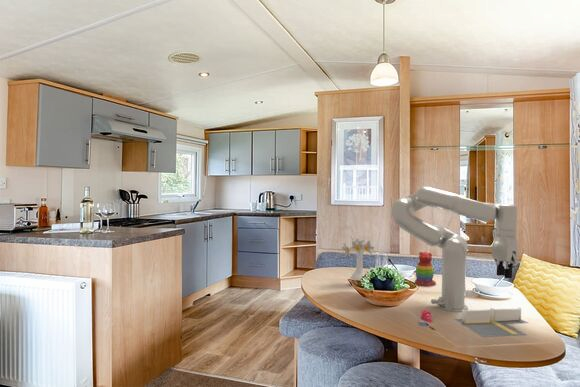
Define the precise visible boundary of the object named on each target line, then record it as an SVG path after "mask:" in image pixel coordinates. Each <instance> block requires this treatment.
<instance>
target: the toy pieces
mask: <svg viewBox="0 0 580 387" xmlns="http://www.w3.org/2000/svg"><path fill="white" fill-rule="evenodd" d="M431 313H432V312H431V311H430V310H428V309H424V310H423V311H422V312H421V313H420V317H421V319H422V320H424V321H426V322H424V321H423V322H422V321H419V322H417V324H418V325H419V326H420V327H428V329H430V330H431V331H436V328H434V327H433V326H431V325H429V324H428V323H433V319H432V314H431Z"/></svg>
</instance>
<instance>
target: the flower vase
mask: <svg viewBox="0 0 580 387" xmlns="http://www.w3.org/2000/svg"><path fill="white" fill-rule="evenodd" d="M365 241H366V240H365V239H364V238H363V239H361V240H360V239H359V238H355V241H354V240H353V241H351V246H350V247H348V246H347V244H346V243H343V246H342V247H341V249H342V250H343V251H344V256H345V257H347V256H348V257H349V258H350V257H351V251H354V254H355V255H356V268H355V270H354V272H353V273H352V274H351V276H350V281H351V280H360V279H361V278H362V276H363V275H365V274H366V273H365V270H364V267H363V265H364V264H363V262H364V261H363V259H364V257H363V256H364V255H366V254H368V256H372V251H373V252H375V250H374V249H375V247H374V246H373V245H372V243H371V241H370V240H369V238H368V239H367V242H366V243H365Z"/></svg>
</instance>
